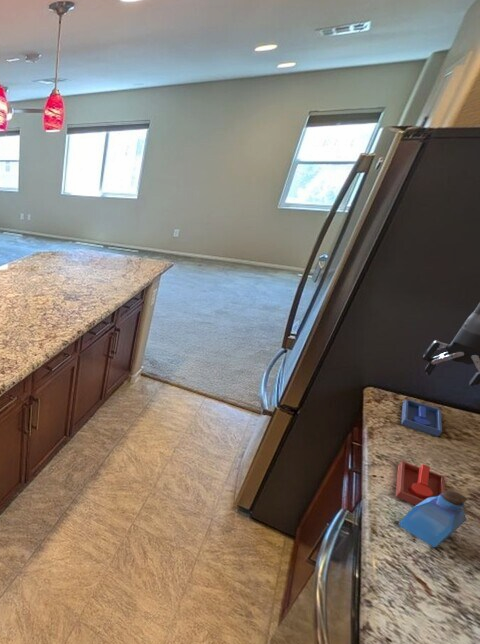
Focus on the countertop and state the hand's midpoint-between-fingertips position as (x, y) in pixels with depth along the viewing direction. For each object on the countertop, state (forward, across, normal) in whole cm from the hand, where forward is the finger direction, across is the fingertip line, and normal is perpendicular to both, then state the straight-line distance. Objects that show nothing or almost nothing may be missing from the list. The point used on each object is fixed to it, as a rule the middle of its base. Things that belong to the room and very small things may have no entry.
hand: (448, 379), depth 113 cm
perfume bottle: (+15, -1, +54) cm, 56 cm away
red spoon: (+14, 0, +37) cm, 40 cm away
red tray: (+15, 0, +39) cm, 41 cm away
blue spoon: (+14, 0, +1) cm, 14 cm away
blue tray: (+15, 0, +1) cm, 15 cm away
